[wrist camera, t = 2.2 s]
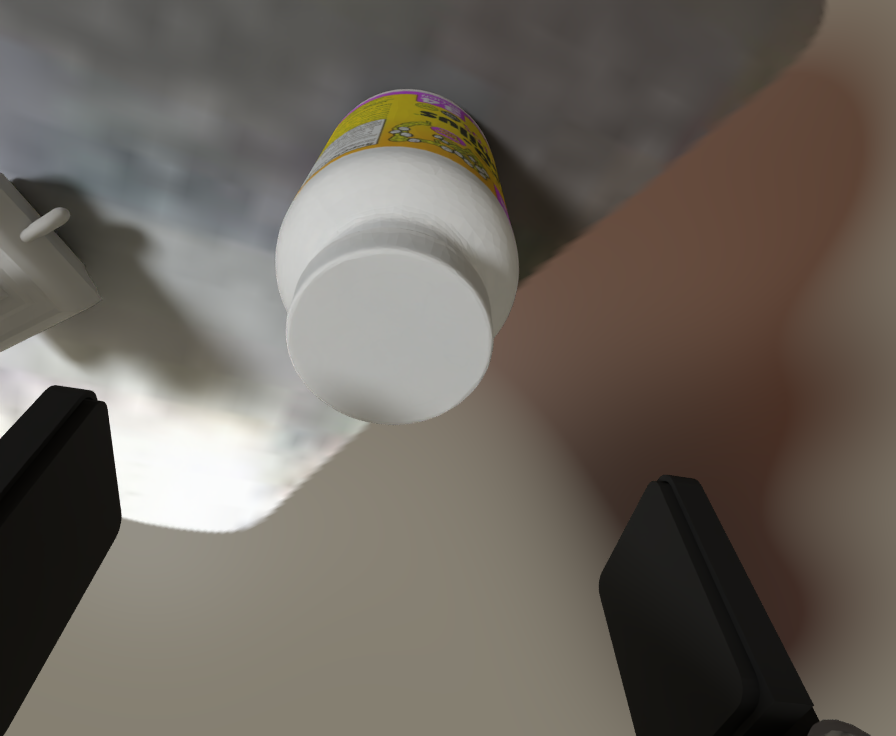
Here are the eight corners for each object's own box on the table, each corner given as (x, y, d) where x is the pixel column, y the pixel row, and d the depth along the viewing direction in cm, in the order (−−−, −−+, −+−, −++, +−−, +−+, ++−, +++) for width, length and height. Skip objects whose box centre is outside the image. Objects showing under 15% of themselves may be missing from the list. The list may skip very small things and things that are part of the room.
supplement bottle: (523, 200, 25) (588, 387, 14) (390, 278, 27) (360, 493, 16) (436, 44, 21) (436, 135, 11) (291, 145, 23) (172, 307, 13)
